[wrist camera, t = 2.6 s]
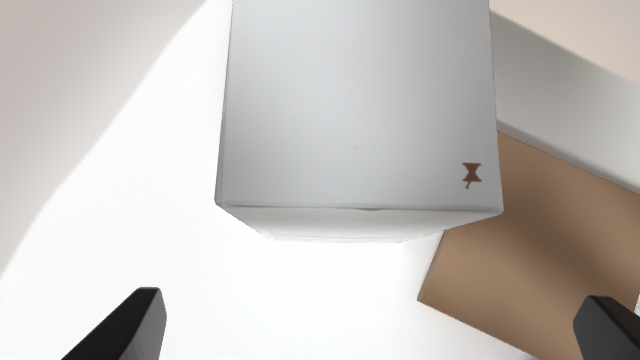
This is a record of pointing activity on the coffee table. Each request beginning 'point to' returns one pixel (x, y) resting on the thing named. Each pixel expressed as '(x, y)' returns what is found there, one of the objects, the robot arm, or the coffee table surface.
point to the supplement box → (359, 119)
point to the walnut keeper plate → (539, 254)
